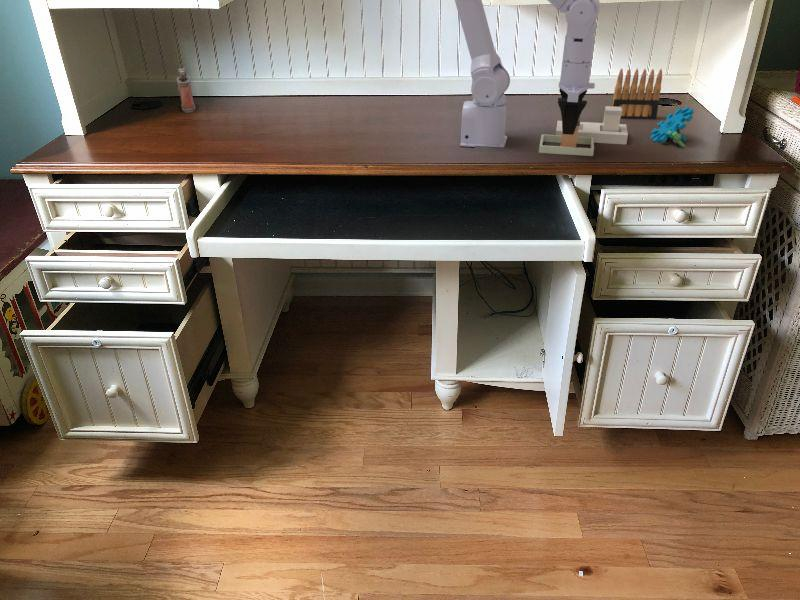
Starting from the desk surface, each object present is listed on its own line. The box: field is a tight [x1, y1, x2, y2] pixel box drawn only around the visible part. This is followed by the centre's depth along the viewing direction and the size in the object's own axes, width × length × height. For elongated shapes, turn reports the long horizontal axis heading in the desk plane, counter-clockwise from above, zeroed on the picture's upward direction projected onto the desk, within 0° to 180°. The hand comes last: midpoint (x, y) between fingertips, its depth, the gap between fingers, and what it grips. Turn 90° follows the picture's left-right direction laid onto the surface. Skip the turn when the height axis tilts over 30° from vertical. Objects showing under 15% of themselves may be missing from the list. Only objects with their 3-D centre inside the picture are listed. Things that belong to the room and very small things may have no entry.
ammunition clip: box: [611, 68, 663, 120], centre depth 152 cm, size 11×2×12 cm, turn 82°
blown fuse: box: [560, 116, 581, 147], centre depth 135 cm, size 3×3×6 cm
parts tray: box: [538, 133, 595, 157], centre depth 136 cm, size 11×8×2 cm
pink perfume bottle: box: [176, 68, 196, 113], centre depth 167 cm, size 8×3×10 cm, turn 17°
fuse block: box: [555, 120, 629, 146], centre depth 142 cm, size 15×8×3 cm, turn 76°
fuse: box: [602, 105, 622, 132], centre depth 140 cm, size 3×3×6 cm
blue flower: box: [649, 106, 695, 147], centre depth 139 cm, size 11×6×10 cm
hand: (568, 128), depth 134 cm, fingers open, 7 cm apart
